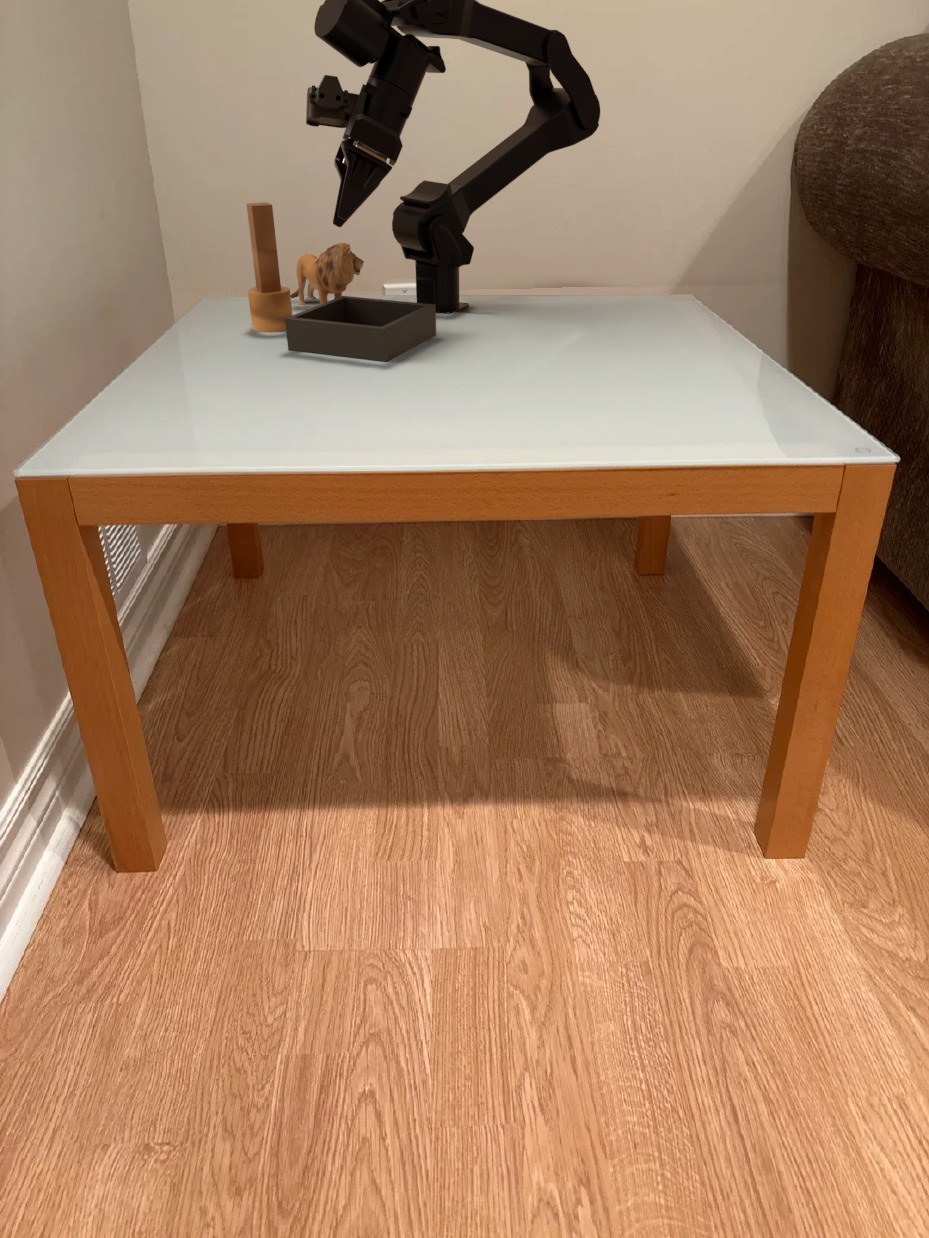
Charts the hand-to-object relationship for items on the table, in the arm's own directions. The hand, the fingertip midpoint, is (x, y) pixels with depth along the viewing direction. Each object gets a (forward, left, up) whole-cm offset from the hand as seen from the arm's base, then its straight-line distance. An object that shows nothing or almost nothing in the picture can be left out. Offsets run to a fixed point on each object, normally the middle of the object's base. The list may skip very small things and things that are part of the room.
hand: (338, 222), depth 109 cm
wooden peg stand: (+6, -7, -12) cm, 15 cm away
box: (+8, +7, -12) cm, 16 cm away
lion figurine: (-6, -7, -12) cm, 16 cm away
